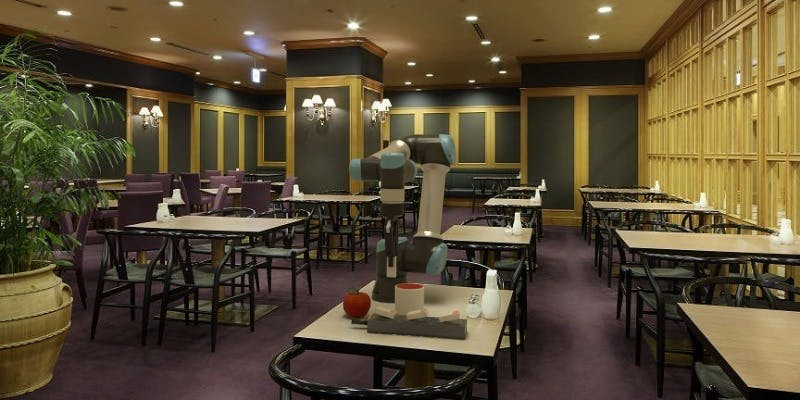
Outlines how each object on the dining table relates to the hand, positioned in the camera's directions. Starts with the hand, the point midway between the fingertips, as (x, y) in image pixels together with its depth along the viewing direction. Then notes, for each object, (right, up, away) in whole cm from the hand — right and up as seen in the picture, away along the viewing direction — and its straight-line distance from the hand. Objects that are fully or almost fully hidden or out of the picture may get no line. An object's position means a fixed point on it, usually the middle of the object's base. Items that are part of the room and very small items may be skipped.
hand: (391, 276), depth 185 cm
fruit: (-12, -16, +14) cm, 24 cm away
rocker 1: (-2, -11, -2) cm, 11 cm away
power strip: (+5, -17, -3) cm, 18 cm away
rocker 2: (+8, -11, -4) cm, 14 cm away
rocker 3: (+18, -11, -6) cm, 22 cm away
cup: (+6, -16, +16) cm, 23 cm away
